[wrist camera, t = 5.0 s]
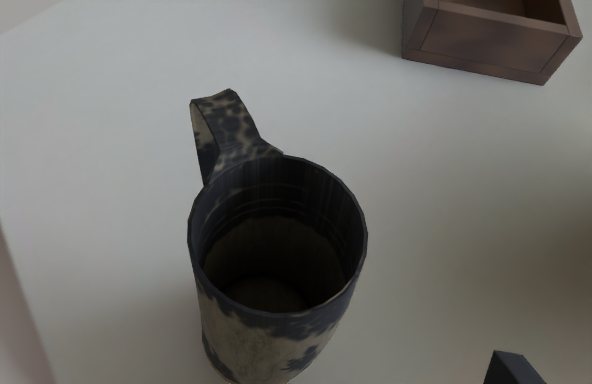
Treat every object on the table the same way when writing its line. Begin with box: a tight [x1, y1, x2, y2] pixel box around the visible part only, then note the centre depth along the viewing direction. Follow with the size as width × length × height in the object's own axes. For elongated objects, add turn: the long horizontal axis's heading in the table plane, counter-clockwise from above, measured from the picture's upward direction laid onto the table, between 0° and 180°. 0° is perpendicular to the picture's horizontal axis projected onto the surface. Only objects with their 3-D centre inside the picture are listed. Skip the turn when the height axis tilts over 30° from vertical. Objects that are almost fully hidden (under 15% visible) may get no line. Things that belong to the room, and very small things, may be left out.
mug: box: [187, 88, 368, 384], centre depth 17 cm, size 8×6×12 cm
